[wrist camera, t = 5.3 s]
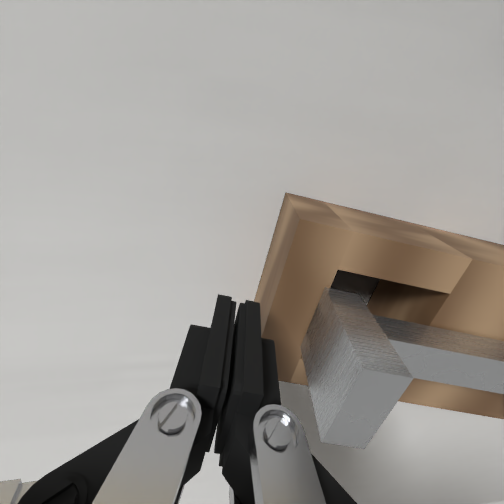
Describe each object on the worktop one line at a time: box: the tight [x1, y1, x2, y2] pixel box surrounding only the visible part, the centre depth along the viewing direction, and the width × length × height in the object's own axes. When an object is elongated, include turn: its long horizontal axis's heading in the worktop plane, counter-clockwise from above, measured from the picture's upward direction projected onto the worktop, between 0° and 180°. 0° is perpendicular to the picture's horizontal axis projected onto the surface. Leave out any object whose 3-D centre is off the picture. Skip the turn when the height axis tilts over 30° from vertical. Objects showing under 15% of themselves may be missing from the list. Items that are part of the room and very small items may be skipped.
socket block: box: [254, 193, 504, 419], centre depth 15 cm, size 20×9×7 cm, turn 77°
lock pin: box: [300, 287, 504, 449], centre depth 11 cm, size 12×4×4 cm, turn 77°
